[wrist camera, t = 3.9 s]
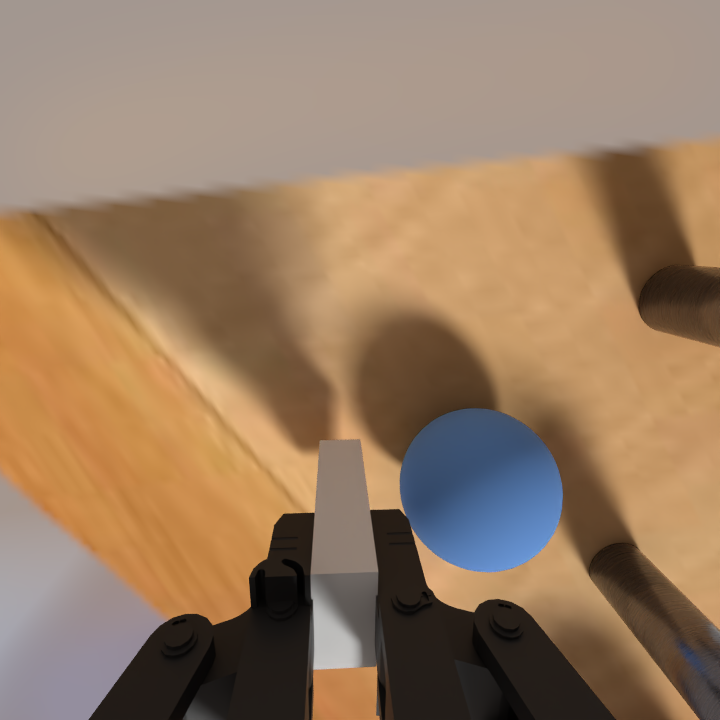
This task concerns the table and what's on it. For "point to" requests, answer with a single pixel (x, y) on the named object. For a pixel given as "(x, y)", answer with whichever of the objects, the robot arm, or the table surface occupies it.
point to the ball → (481, 490)
